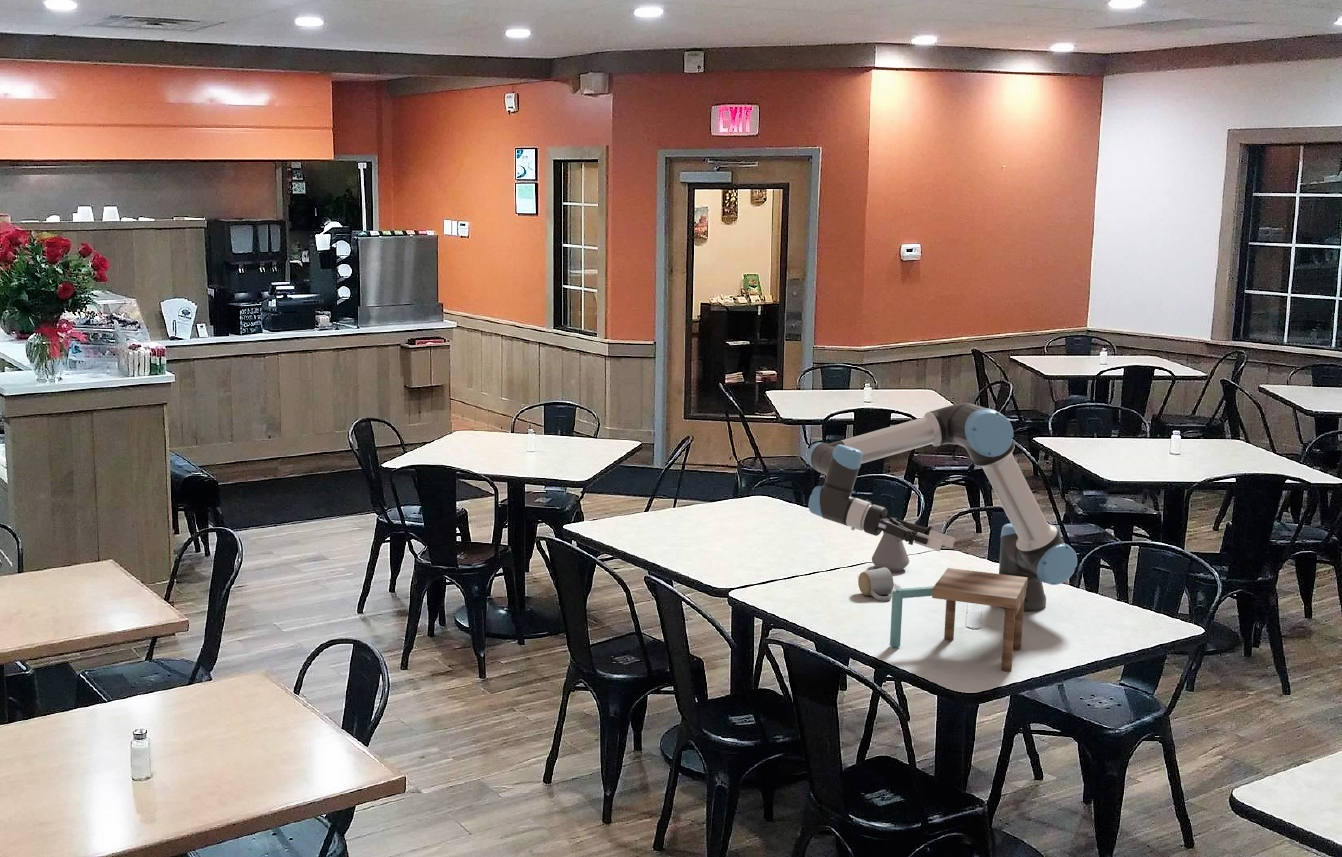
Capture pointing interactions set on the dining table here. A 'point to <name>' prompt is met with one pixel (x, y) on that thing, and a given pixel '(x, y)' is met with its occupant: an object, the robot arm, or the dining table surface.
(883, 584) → the ceramic mug
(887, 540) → the coffee pot
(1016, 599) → the stool
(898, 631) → the folding leg
